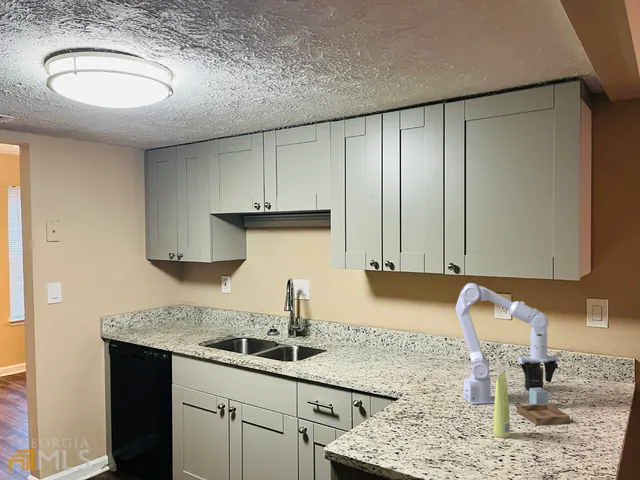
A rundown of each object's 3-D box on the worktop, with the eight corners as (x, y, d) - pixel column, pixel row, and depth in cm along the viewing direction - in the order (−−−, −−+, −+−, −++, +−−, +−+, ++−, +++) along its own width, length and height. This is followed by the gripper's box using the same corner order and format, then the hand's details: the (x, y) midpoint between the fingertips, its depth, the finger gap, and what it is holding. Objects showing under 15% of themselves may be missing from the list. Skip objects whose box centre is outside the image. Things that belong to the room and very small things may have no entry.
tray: (536, 425, 160) (536, 418, 160) (516, 411, 172) (516, 405, 172) (569, 422, 162) (569, 416, 162) (547, 409, 174) (547, 403, 174)
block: (536, 408, 175) (536, 392, 175) (529, 404, 180) (529, 388, 180) (547, 408, 176) (547, 391, 176) (540, 403, 180) (540, 387, 180)
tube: (489, 431, 156) (489, 370, 156) (504, 430, 156) (504, 370, 156) (497, 438, 150) (497, 376, 150) (513, 438, 151) (513, 375, 150)
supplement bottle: (532, 393, 192) (532, 362, 192) (521, 387, 198) (521, 358, 198) (547, 391, 194) (547, 361, 193) (535, 386, 200) (535, 357, 200)
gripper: (526, 348, 172) (526, 386, 173) (563, 346, 175) (563, 384, 175) (515, 344, 179) (515, 380, 180) (551, 342, 182) (551, 378, 182)
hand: (538, 382), depth 178 cm, fingers open, 7 cm apart
